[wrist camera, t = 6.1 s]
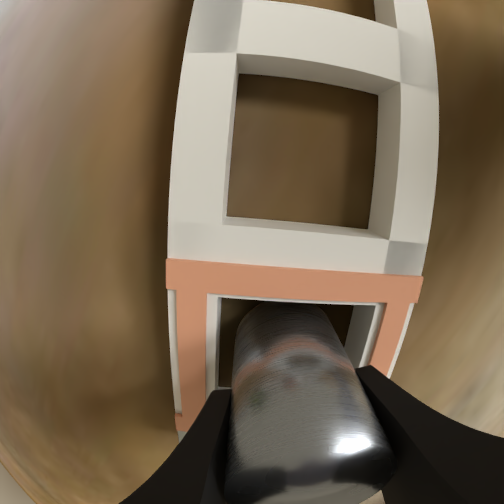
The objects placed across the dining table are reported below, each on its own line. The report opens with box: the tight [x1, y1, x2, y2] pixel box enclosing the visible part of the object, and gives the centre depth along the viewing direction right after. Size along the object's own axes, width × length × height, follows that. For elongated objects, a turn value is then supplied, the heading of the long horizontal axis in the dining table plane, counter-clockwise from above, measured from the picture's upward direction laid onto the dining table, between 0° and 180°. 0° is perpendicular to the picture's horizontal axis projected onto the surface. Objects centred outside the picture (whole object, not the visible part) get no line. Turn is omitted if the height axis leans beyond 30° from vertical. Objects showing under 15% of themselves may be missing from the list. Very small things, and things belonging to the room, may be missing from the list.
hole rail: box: [166, 0, 439, 443], centre depth 9 cm, size 9×28×2 cm, turn 175°
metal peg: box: [224, 301, 397, 504], centre depth 8 cm, size 4×4×7 cm
